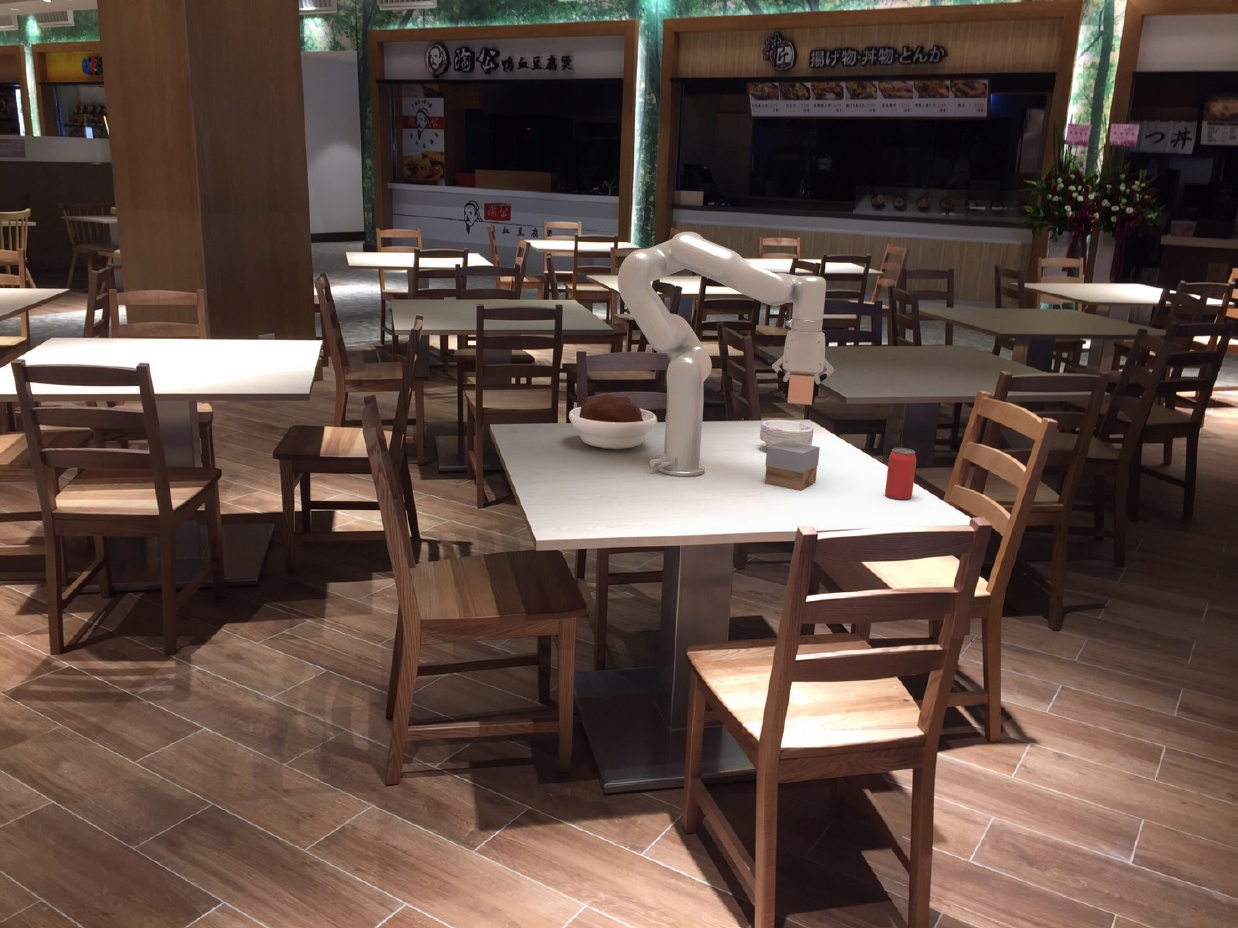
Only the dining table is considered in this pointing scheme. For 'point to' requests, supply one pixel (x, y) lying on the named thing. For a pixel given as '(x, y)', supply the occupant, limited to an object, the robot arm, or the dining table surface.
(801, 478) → the walnut slab
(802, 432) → the paper bowls
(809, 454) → the slate slab
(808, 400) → the terracotta block
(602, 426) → the bowl of brown food
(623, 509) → the dining table surface
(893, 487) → the beer can
